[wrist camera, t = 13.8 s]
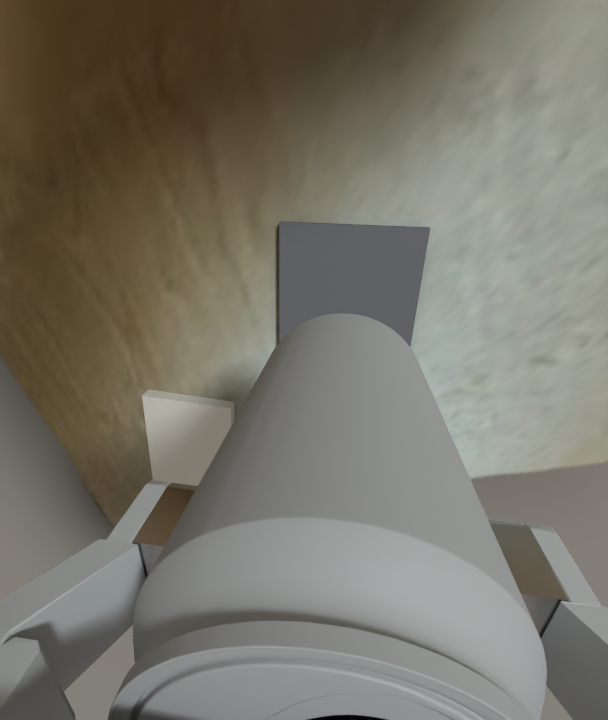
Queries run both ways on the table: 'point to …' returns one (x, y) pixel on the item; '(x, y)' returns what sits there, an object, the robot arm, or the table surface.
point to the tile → (184, 434)
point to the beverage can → (334, 559)
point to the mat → (350, 273)
